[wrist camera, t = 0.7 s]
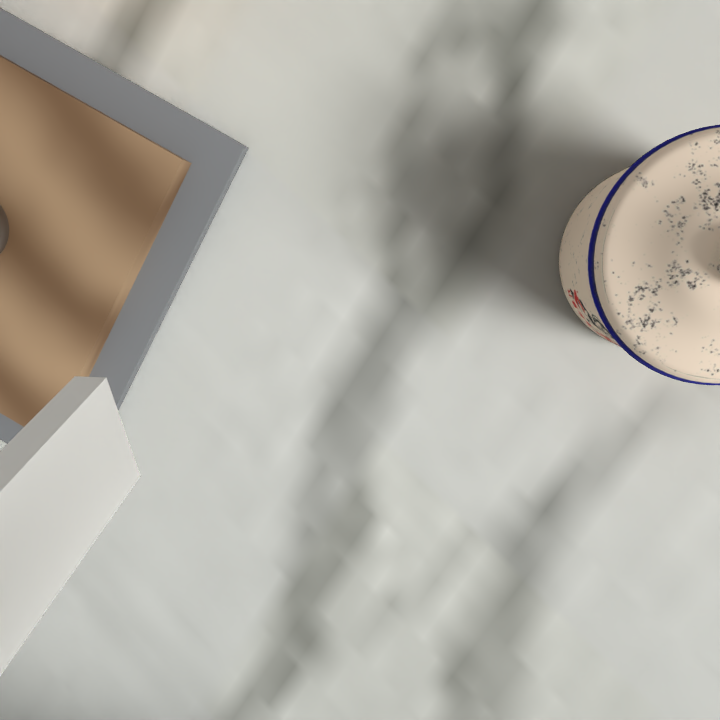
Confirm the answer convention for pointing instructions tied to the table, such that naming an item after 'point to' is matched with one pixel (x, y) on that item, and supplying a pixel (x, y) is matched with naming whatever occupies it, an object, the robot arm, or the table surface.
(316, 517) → the table surface
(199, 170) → the rubber mat
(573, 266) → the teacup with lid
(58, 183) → the lid board
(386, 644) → the table surface
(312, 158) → the table surface
